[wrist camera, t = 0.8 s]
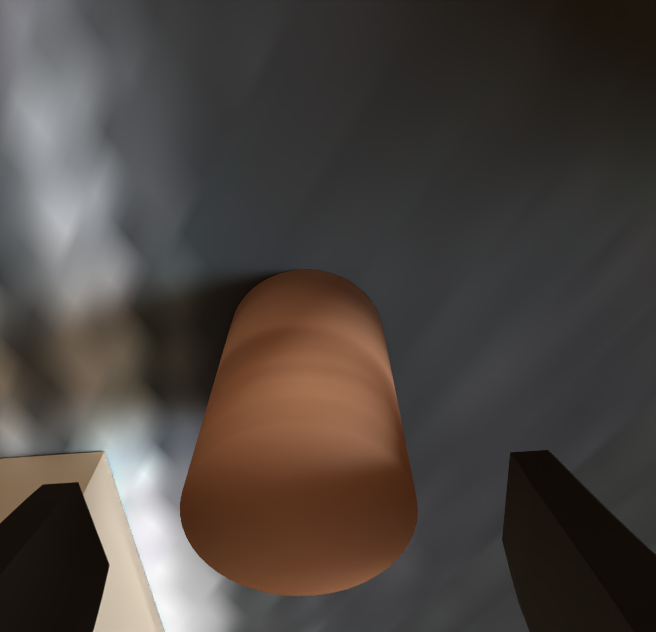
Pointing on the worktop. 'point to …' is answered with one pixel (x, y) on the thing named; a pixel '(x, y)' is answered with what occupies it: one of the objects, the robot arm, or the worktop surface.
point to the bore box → (110, 522)
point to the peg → (301, 444)
